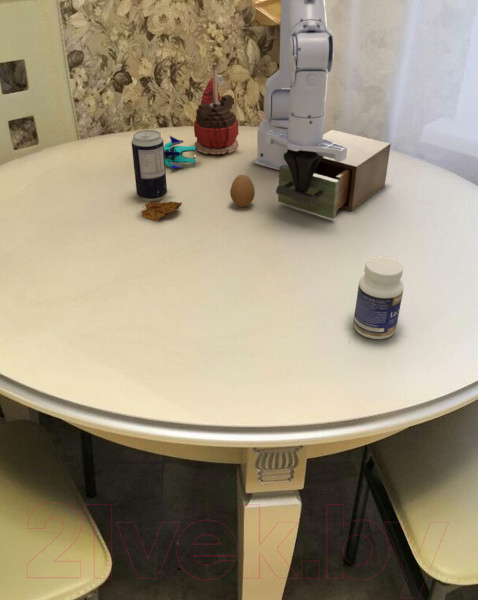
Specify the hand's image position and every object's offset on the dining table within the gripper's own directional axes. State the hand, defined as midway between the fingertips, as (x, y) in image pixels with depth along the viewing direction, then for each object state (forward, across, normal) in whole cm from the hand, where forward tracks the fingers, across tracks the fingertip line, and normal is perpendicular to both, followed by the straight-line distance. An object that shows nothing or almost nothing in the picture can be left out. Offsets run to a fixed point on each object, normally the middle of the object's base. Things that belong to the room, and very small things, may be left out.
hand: (302, 191), depth 106 cm
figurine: (+5, -34, +3) cm, 35 cm away
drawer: (+4, 0, +6) cm, 7 cm away
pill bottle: (+6, +25, -21) cm, 33 cm away
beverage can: (+5, -27, -9) cm, 29 cm away
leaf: (+5, -21, -13) cm, 26 cm away
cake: (+4, -32, +17) cm, 37 cm away
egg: (+5, -11, -2) cm, 13 cm away
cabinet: (+5, 0, +15) cm, 15 cm away
